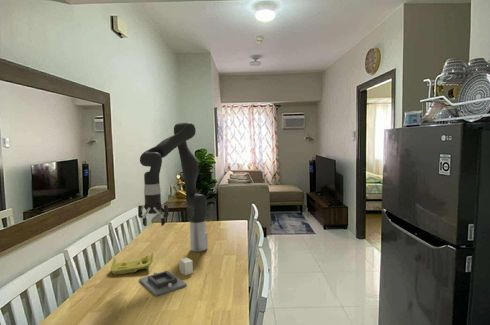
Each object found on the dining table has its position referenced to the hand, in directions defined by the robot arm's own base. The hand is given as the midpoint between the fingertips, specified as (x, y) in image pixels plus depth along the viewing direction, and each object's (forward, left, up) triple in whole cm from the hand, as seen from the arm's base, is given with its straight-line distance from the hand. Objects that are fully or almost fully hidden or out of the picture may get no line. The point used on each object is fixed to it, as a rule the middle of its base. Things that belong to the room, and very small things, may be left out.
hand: (154, 225), depth 147 cm
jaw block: (-11, +11, -23) cm, 28 cm away
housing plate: (+3, +15, -23) cm, 28 cm away
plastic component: (+8, -9, -23) cm, 26 cm away
